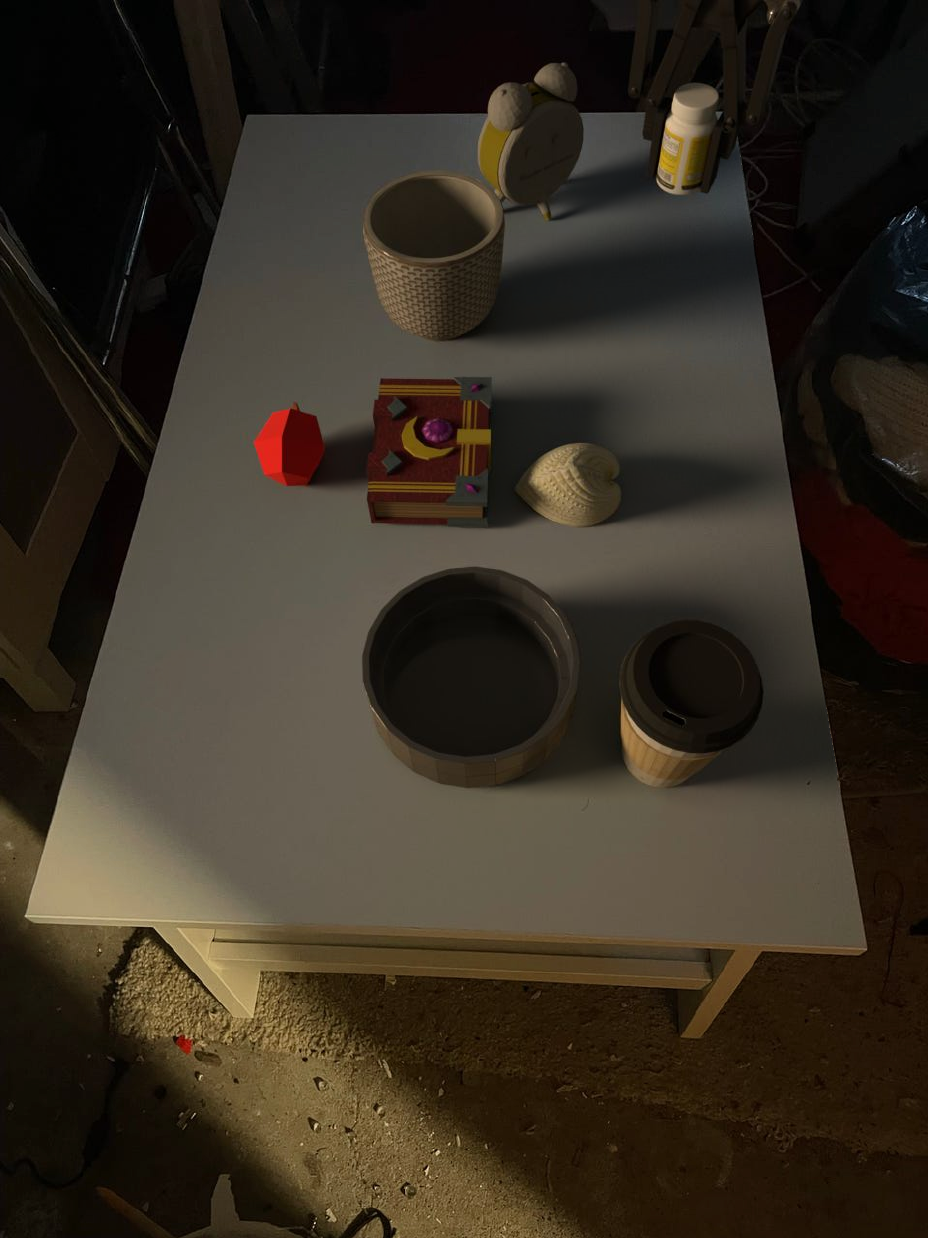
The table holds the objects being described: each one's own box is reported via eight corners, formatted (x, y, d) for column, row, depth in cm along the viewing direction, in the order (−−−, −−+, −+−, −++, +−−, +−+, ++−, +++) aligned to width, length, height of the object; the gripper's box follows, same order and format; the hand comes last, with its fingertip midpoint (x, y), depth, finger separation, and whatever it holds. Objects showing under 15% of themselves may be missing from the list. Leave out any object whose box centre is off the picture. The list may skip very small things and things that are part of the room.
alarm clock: (554, 173, 109) (562, 44, 96) (588, 202, 106) (602, 74, 93) (475, 210, 106) (473, 83, 93) (509, 241, 103) (511, 115, 90)
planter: (525, 297, 99) (529, 192, 87) (466, 382, 93) (463, 281, 82) (415, 259, 102) (406, 154, 91) (353, 339, 96) (334, 237, 85)
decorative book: (369, 527, 85) (362, 496, 80) (383, 398, 92) (378, 363, 88) (488, 529, 84) (488, 498, 80) (492, 399, 92) (493, 364, 87)
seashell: (637, 520, 81) (567, 510, 77) (580, 536, 89) (513, 527, 85) (636, 434, 82) (566, 419, 78) (579, 457, 89) (513, 444, 85)
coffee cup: (738, 730, 74) (792, 650, 61) (690, 832, 70) (736, 770, 57) (631, 677, 76) (659, 588, 63) (578, 772, 73) (597, 699, 59)
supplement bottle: (708, 170, 88) (728, 84, 80) (700, 200, 86) (719, 114, 78) (660, 162, 88) (675, 76, 81) (650, 191, 86) (665, 106, 79)
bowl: (602, 647, 78) (611, 611, 72) (524, 824, 71) (527, 800, 65) (426, 578, 82) (421, 539, 76) (335, 739, 74) (322, 709, 69)
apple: (304, 475, 81) (316, 391, 82) (238, 474, 83) (250, 392, 84) (335, 497, 88) (346, 419, 88) (274, 494, 89) (284, 418, 90)
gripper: (606, -108, 67) (581, 177, 87) (845, -65, 63) (759, 224, 83) (641, -150, 70) (608, 134, 90) (869, -112, 66) (781, 177, 86)
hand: (680, 177), depth 87 cm, fingers closed on supplement bottle, 5 cm apart
